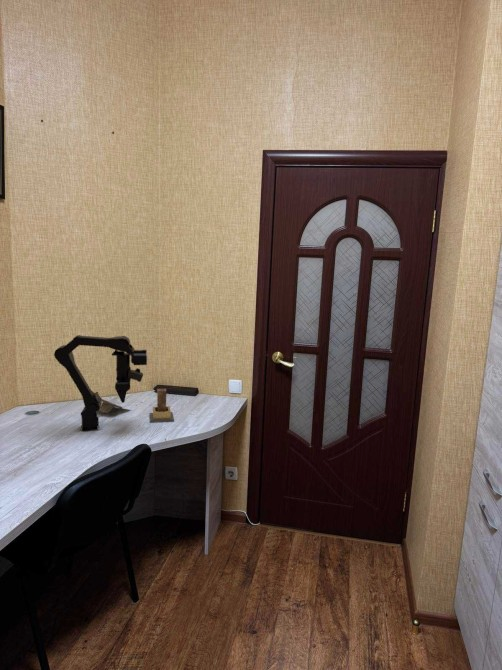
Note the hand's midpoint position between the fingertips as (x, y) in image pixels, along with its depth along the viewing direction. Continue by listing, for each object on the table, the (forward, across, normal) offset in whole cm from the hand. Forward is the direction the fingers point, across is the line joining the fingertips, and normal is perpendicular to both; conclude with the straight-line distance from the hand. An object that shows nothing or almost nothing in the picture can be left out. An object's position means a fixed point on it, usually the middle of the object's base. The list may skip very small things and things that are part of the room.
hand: (123, 399), depth 201 cm
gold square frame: (+13, +10, -17) cm, 24 cm away
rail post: (+12, +10, -17) cm, 23 cm away
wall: (+13, +24, +7) cm, 28 cm away
